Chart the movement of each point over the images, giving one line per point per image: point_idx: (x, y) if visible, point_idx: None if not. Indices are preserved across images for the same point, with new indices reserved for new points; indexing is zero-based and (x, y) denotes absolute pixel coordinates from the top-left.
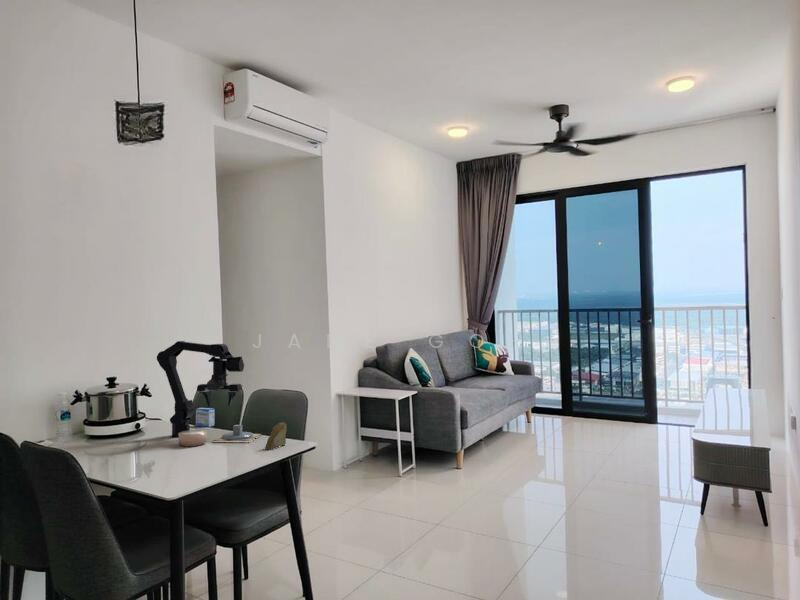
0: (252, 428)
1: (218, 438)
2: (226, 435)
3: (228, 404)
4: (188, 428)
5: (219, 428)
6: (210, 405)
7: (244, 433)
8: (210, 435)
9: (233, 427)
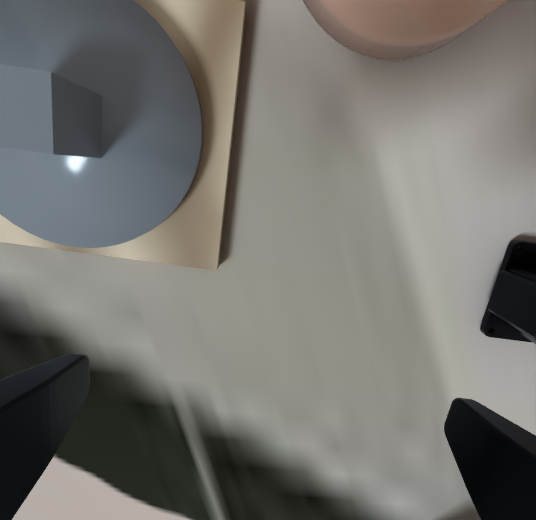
0: (127, 479)
1: (220, 74)
2: (158, 96)
3: (55, 375)
4: (523, 308)
5: (332, 493)
6: (452, 448)
7: (33, 171)
8: (336, 292)
9: (56, 76)
